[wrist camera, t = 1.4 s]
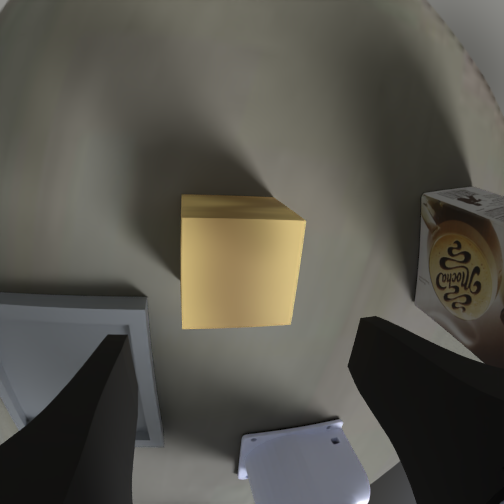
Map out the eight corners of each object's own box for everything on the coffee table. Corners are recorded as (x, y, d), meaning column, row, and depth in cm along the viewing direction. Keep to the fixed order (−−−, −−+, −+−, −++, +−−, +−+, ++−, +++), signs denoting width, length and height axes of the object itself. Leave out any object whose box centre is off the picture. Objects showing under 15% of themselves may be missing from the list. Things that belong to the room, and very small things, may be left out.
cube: (273, 196, 18) (306, 220, 13) (264, 279, 19) (290, 324, 15) (181, 194, 17) (181, 217, 12) (180, 280, 18) (182, 329, 14)
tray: (147, 296, 18) (145, 309, 17) (163, 433, 22) (164, 447, 21) (-28, 290, 15) (-38, 300, 14) (24, 420, 20) (20, 433, 18)
